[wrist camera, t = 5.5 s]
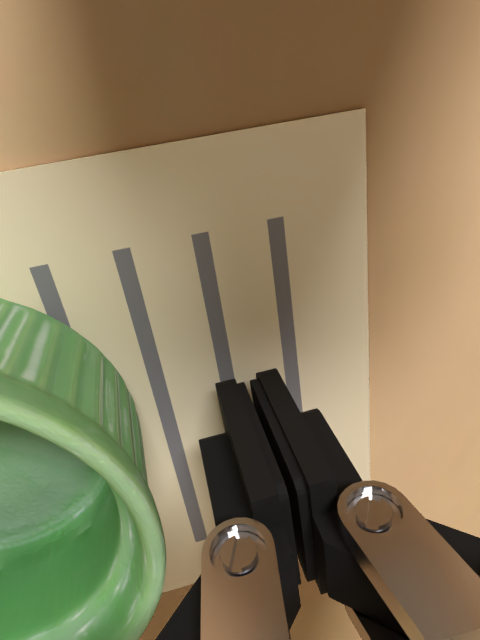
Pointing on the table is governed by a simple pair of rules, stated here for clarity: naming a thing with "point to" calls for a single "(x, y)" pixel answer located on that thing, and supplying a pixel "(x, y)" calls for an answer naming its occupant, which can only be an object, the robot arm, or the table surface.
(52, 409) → the ramekin
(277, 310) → the letter
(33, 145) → the table surface
